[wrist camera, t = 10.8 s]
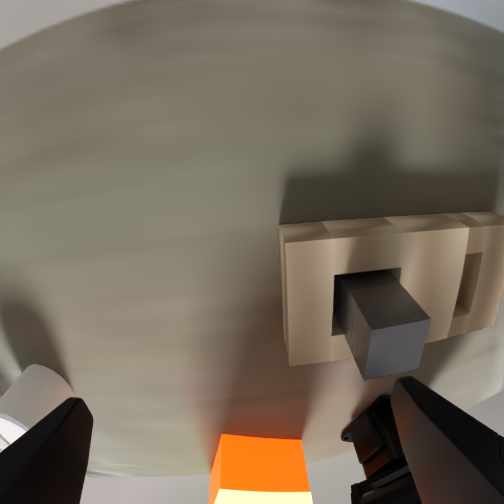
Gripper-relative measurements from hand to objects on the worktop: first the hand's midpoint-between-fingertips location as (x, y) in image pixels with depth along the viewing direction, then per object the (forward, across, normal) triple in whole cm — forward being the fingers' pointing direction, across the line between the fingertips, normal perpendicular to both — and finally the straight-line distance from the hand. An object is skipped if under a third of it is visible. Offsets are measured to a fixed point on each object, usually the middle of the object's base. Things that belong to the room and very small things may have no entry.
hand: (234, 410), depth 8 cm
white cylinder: (+12, +19, +12) cm, 26 cm away
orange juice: (+12, +1, +23) cm, 26 cm away
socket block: (+12, -10, +3) cm, 16 cm away
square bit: (+12, -7, +3) cm, 14 cm away
